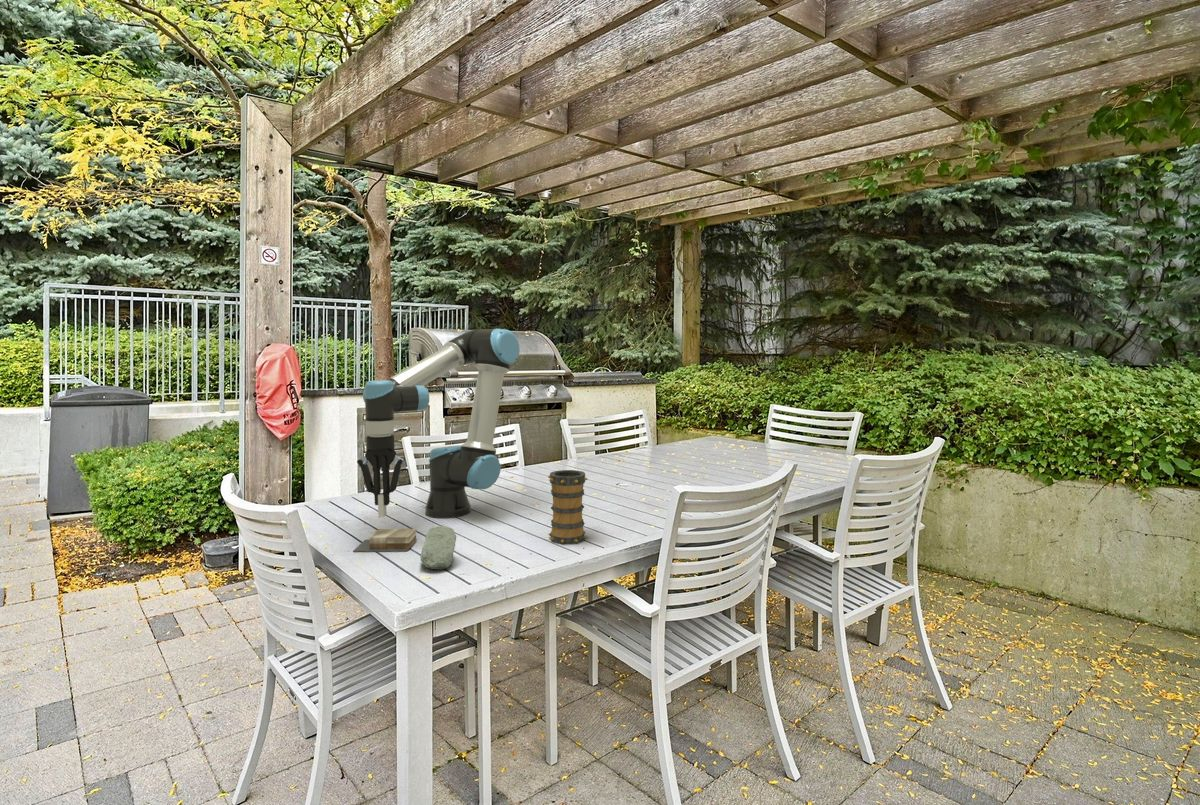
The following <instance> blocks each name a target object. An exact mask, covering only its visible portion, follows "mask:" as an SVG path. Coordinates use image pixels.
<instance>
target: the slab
mask: <svg viewBox="0 0 1200 805" xmlns="http://www.w3.org/2000/svg"><path fill="white" fill-rule="evenodd" d="M368 538H369V539H368V540H369V544H370V550H376V549H409V550H410V549H411V548H410V547H412V546H413V545H414V544H415V543H416V542H417V528H378V529H377V530H375V531H374V533H372V534H371V535H370V536H369V537H368ZM415 541H416V542H415Z"/></svg>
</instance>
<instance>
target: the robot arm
mask: <svg viewBox="0 0 1200 805" xmlns="http://www.w3.org/2000/svg"><path fill="white" fill-rule="evenodd" d="M520 349H521V348H520V343H519V340H518V338H517V336H516V335H515V334H514V332H512V331H511V330H508V329H505V328H504V329H503V328H491V329H489V328H486V329H485V328H484V329H482V328H481V329H480V328H479V329H478V328H477V329H471V330H469V331H466V332H464V333H461V334H459V335H457V336H456V337H454V338H452V339H451V340H449V341H446V342H445V343H444V344H443V346H442V348H441V349H439V350H437V351H436V352H435V351H434V352H433V353H432V354H430V355H428V356H426V357H424V358H423V359H421V360H420V361H418V362H416V363H414V364H412V365H411V366H409V367H407V368H406V369H404V370H402V371H400V372H398V373H397V374H395V375H393V376H391V377H389V378H388V379H384V380H368V381H367V382H366V383H365V386H364V390H363V391H362V399H363V402H364V406H365V434H366V435H367V436H366V437H365V438H366V440H365V441H366V452H365V454H364V456H363V457H361V458H360V459H358V460H356V463H357V465H358V466H359V467H360V469H361V473H362V476H363V480H364V484H365V486H366V490H367V492H368V493H371V494H373V495H374V496H373V497H374V505H375V506H377V510H378V515H377V516H378V518H385V517H386V516H388V515H387V513H388V512H387V506H389V505H390V501H391V500H390V499H391V498H390V494H391V493H394V492H395V491H396V490H397V485H398V481H399V477H400V472H401V468H402V466H403V464H404V462H405V458H403V457H400V456H398V455H397V453H396V450H395V436H394V435H393V434H394V433H395V422H394V421H395V419H394V417H395V414H396V413H404V412H418V411H422V410H425V409H426V408H427V407H428V406H429V404H430V392H429V390H428V388H426V385H427V384H429V383H431V382H433V381H434V380H435V379H438V378H439V377H441V376H443V375H445V374H446V373H447V372H449V371H451V370H453V369H454V368H456V369H457V368H458V369H459V368H461V367H464V366H466V365H469V364H474V366H475V368H476V369H477V371H478V373H477V379H476V385H475V392H474V396H473V402H472V409H471V415H470V420H469V426H468V432H467V439H466V441H465V442H464V443H462V444H461V445H449V446H440V447H436V448H433V449H431V450H430V452H429V459H428V461H429V481H430V482H429V483H430V484H429V487H430V489H429V490H430V491H429V494H428V498H427V501H426V505H425V507H424V508H425V515H426V516H428V517H431V518H436V519H437V518H439V519H442V518H443V519H446V518H447V519H449V518H457V517H463V516H465V515H467V514H469V513H470V512H471V504H470V501H469V498H468V495H467V493H466V488H470V489H472V490H486V489H489V488H491V487H492V486H493V485H495V483H496V482H497V481H498V479H499V477H500V474H501V470H502V469H501V468H502V466H501V463H500V460H499V458H498V457H497V456H496V455H497V450H496V448H495V446H494V438H495V433H496V425H497V419H498V413H499V407H500V402H501V395H502V389H503V382H504V377H505V375H506V374H507V373H508V372H510V369H511V368H510V367H511V365H512V364H514V363H516V361H517V360H518V359H519V355H520V353H521V352H520ZM393 461H394V468H393V472H392V476H391V479H390V468H391V466H390V465H392V463H393ZM368 464H370V465H371V467H372V473H373V478H372V475H371V472H370V467H369V465H368ZM381 472H382V473H381ZM381 474H382V480H381ZM390 480H391V482H390ZM381 481H382V486H381ZM381 488H382V490H381Z"/></svg>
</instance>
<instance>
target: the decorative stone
mask: <svg viewBox="0 0 1200 805" xmlns="http://www.w3.org/2000/svg"><path fill="white" fill-rule="evenodd" d="M424 538H425V539H424V542H423V545H422V548H421V551H420V552H421V553H420V561H421V562H422V565H423V566H425V567H426V568H428V569H433V570H445V569H448V568H449V567H451V565H452V562H453V558H454V552H455V547H456V541H457V534H456V533H455V530H454V529H453V528H452V527H449V526H447V525H444V524H443V525H442V524H441V525H438V526H434V527H431V528H429V529H428V530H427V532H426V534H425V537H424Z"/></svg>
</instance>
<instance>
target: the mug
mask: <svg viewBox="0 0 1200 805" xmlns="http://www.w3.org/2000/svg"><path fill="white" fill-rule="evenodd" d="M586 476H587V475H586V472H584V471H581V470H575V469H561V470H555V471H552V472H550V473H549V475H548V476H547V478H549V479H548V481H549V484H551V489H550V493H551V496H552V506H550V510H552V519H551V520H550V522H551V524H550V525H551V531H550V533H547V535H548V536H549V538H548V540H550V541H551V543H554V544H556V545H557V544H558V545H576V544H579V543H582V542H585V540H586V539H588V538H589V537H588V536H586V531H585V530H584V525H585V522H584V519H583V510H584V508H585V505H584V504H583V496H584V495H585V489H584V484H585V483H586V481H587V480H588V481H589V478H588V477H586Z"/></svg>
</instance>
